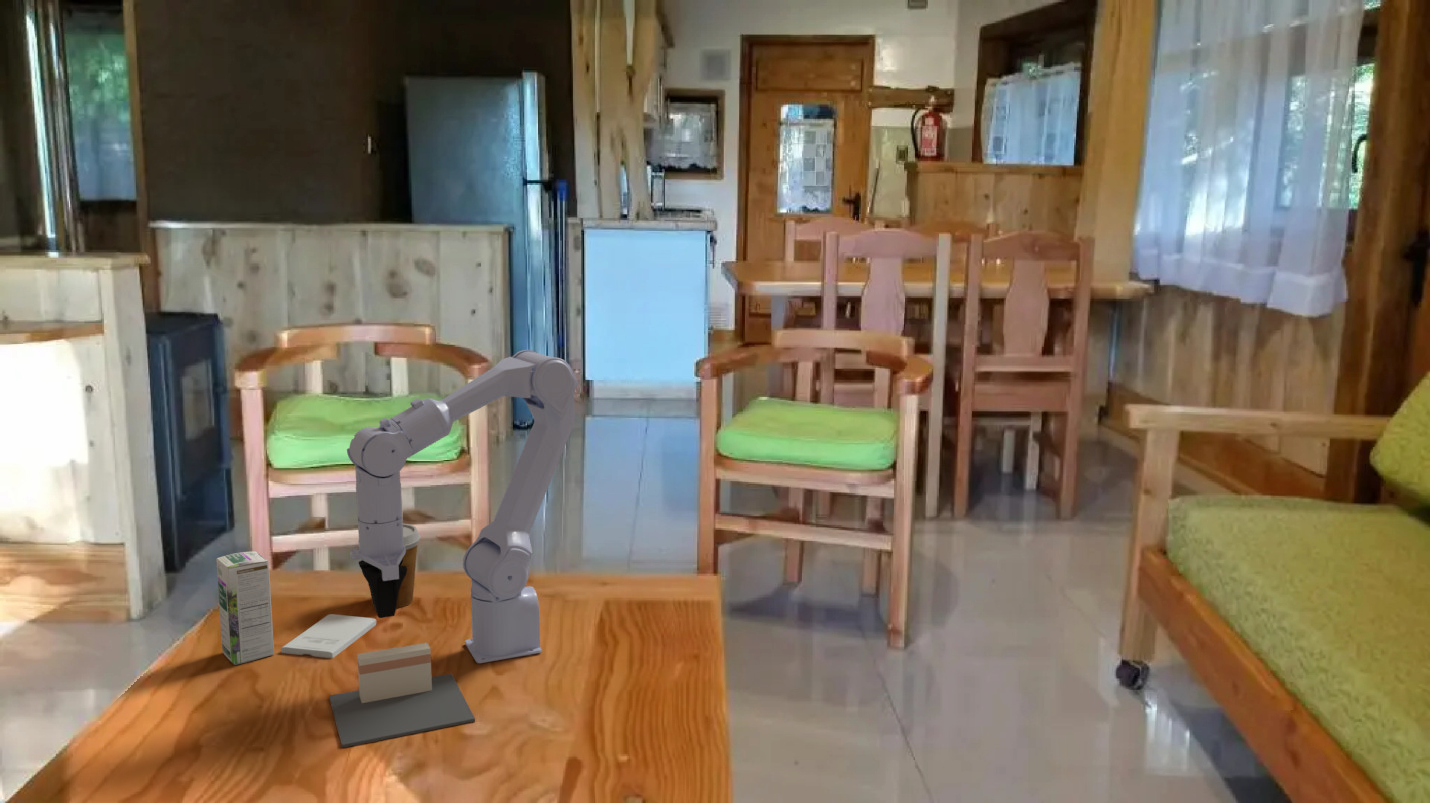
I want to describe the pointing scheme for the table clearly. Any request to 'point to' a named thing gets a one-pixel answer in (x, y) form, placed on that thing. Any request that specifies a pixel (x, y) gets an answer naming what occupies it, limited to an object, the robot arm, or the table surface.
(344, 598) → the table surface
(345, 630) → the external hard drive
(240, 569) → the syrup box
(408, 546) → the disposable coffee cup
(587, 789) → the table surface
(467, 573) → the robot arm
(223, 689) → the table surface
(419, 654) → the card deck
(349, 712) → the mat
